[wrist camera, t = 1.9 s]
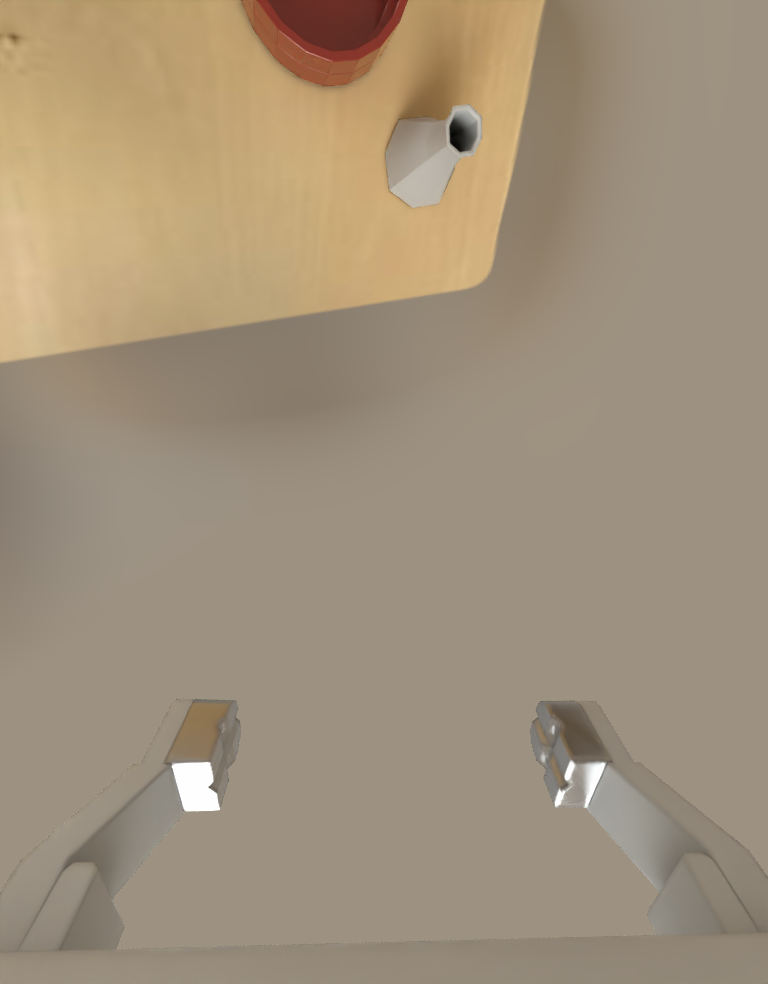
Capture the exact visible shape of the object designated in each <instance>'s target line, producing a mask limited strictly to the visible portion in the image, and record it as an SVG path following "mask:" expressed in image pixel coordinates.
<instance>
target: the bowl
mask: <svg viewBox="0 0 768 984" xmlns="http://www.w3.org/2000/svg"><path fill="white" fill-rule="evenodd" d="M407 1H408V0H241V2H242V4H243V7H244V9H245V11H246V13H247V16H248V18H249V20H250V22H251V24H252V27H253V29H254V30H255V32H256V33H257V35H258V36H259V37H260V39H261V40H262V41H263V43H264V44H265V45H266V47H267V48H268V49H269V51H270V52H271V54H272V55H273V56H274V58H276V60H278V61H279V62H280V63H281V64H283V65H284V66H285V67H286V68H288V69H289V70H290V71H292V72H293V73H294V74H295V75H297V76H298V77H300V78H302V79H305V80H308V81H311V82H314V83H316V84H319V85H322V86H332V85H343V84H348V83H350V82H352V81H353V80H355V79H357V78H358V77H360V76H362V75H363V74H365V73H367V72H368V71H369V70H370V68H371V67H372V66H373V65H374V63H375V62H376V61H377V59H378V58H379V57H380V55H381V54H382V53H383V51H384V50H385V48H386V46H387V44H388V42H389V41H390V39H391V37H392V35H393V33H394V31H395V30H396V28H397V26H398V24H399V22H400V20H401V17H402V15H403V12H404V9H405V7H406V4H407Z"/></svg>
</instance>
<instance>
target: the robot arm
mask: <svg viewBox="0 0 768 984" xmlns="http://www.w3.org/2000/svg"><path fill="white" fill-rule="evenodd" d="M237 711H238V707H237V701H235V700H202V699H176V700H175V701H174V702H173V703H172V705H171V706H170V708H169V710H168V712H167V713H166V715H165V717H164V719H163V721H162V723H161V725H160V727H159V729H158V731H157V733H156V735H155V737H154V739H153V741H152V742H151V744H150V747H149V748H148V751H147V752H146V754H145V756H144V758H143V760H142V762H141V764H134V765H132V766H131V767H130V768H129V769H128V770H127V771H125V772H124V773H123V774H122V775H121V776H120V777H119V778H117V779H116V780H115V781H114V782H113V783H111V784H110V785H109V786H108V787H107V788H105V789H104V790H103V791H102V792H101V793H99V794H98V795H97V796H96V797H95V798H94V799H92V800H91V801H90V802H89V803H88V804H87V805H85V806H84V807H83V808H82V809H81V810H80V811H78V812H77V813H76V814H75V815H73V816H72V817H71V818H70V819H69V820H68V821H66V822H65V823H64V824H63V825H62V826H61V827H59V828H58V829H57V830H56V831H55V832H53V833H52V834H51V835H50V836H49V837H48V838H46V839H45V840H44V841H43V842H42V843H41V844H39V845H38V846H37V847H36V848H35V849H33V850H32V851H31V852H30V853H29V854H27V855H26V856H25V857H24V858H23V859H22V860H20V862H19V864H18V865H17V867H16V868H15V870H14V871H13V873H12V874H11V876H10V877H9V879H8V880H7V882H6V883H5V885H4V887H3V888H2V890H1V891H0V984H768V877H767V875H766V874H765V872H764V871H763V869H762V868H761V867H760V865H759V864H758V862H757V861H756V860H755V858H754V857H753V855H752V854H751V853H750V851H749V850H748V849H747V848H745V847H744V846H743V845H741V844H740V843H739V842H738V841H737V840H735V839H734V838H733V837H732V836H730V835H729V834H728V833H727V832H725V831H724V830H723V829H722V828H720V827H719V826H718V825H717V824H715V823H714V822H713V821H712V820H710V819H709V818H708V817H707V816H705V815H704V814H703V813H702V812H701V811H699V810H698V809H697V808H696V807H694V806H693V805H692V804H691V803H689V802H688V801H687V800H686V799H685V798H683V797H682V796H681V795H680V794H678V793H677V792H676V791H675V790H673V789H672V788H671V787H670V786H668V785H667V784H666V783H665V782H663V781H662V780H661V779H660V778H658V777H657V776H656V775H655V774H653V773H652V772H651V771H650V770H649V769H647V768H646V767H645V766H644V765H642V764H641V763H639V762H638V763H637V762H634V761H633V760H632V758H631V756H630V755H629V753H628V751H627V750H626V748H625V746H624V745H623V743H622V741H621V740H620V738H619V736H618V735H617V733H616V731H615V730H614V728H613V726H612V725H611V723H610V721H609V720H608V718H607V717H606V715H605V713H604V712H603V710H602V708H601V706H600V705H599V704H598V703H597V702H594V701H541V702H539V703H538V705H537V708H536V712H537V714H538V717H537V718H536V719H535V720H534V721H533V722H532V725H531V730H530V734H531V744H532V748H533V752H534V754H535V757H536V760H537V761H538V762H539V763H540V764H541V765H542V766H543V767H544V768H545V769H546V771H545V775H544V781H545V784H546V786H547V789H548V791H549V794H550V797H551V799H552V802H553V804H554V807H574V808H576V807H577V808H588V809H587V810H588V811H589V812H590V813H591V815H593V817H594V818H595V819H596V820H597V821H598V823H599V824H600V825H601V826H602V827H603V828H604V829H605V830H606V832H607V833H608V834H609V835H610V836H611V837H612V838H613V839H614V841H615V842H616V843H617V844H618V845H619V846H620V848H621V849H622V850H623V851H624V852H625V853H626V854H627V855H628V857H629V858H630V859H631V860H632V861H633V862H634V863H635V865H636V866H637V867H638V868H639V869H640V870H641V871H642V873H643V874H644V875H645V876H646V877H647V878H648V879H649V880H650V882H651V883H652V884H653V885H654V886H655V887H656V888H657V890H658V891H659V894H658V895H657V897H656V898H655V900H654V901H653V903H652V904H651V906H650V908H649V911H648V914H647V915H648V917H649V920H650V922H651V924H652V926H653V928H654V930H655V933H656V935H642V936H603V937H564V938H527V939H486V940H449V941H448V940H447V941H408V942H370V943H332V944H331V943H330V944H295V945H294V944H292V945H256V946H255V945H254V946H217V947H178V948H142V949H116V947H117V945H118V942H119V940H120V937H121V935H122V932H123V930H124V924H123V921H122V918H121V916H120V914H119V912H118V910H117V908H116V906H115V903H114V902H113V898H114V896H115V895H116V894H117V893H118V892H119V890H120V889H121V888H122V887H123V886H124V884H125V883H126V882H127V881H128V880H129V879H130V877H131V876H132V875H133V874H134V873H135V871H136V870H137V869H138V868H139V867H140V865H141V864H142V863H143V862H144V861H145V859H146V858H147V857H148V856H149V855H150V853H151V852H152V851H153V850H154V849H155V848H156V846H157V845H158V844H159V843H160V842H161V840H162V839H163V838H164V837H165V836H166V834H167V833H168V832H169V831H170V830H171V828H172V827H173V826H174V825H175V824H176V822H177V821H178V820H179V819H180V818H181V816H182V815H183V812H184V811H207V810H220V807H221V804H222V801H223V798H224V794H225V791H226V788H227V785H228V782H229V778H228V772H227V768H228V767H229V766H231V765H232V764H233V762H234V761H235V758H236V755H237V752H238V747H239V741H240V733H241V726H240V721H239V720H238V719H237V718H236V714H237Z"/></svg>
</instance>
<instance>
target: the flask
mask: <svg viewBox="0 0 768 984" xmlns="http://www.w3.org/2000/svg"><path fill="white" fill-rule="evenodd" d="M481 139H482V116H481V115H480V114H479V113H478V112H477V111H476V110H475V109H474V108H473V107H472V106H471V105H470V104H468V105H458V106H453V108H452V110H451V112H450V114H449V117H448V118H447V119H445V120H443V121H442V120H438V119H435V118H432V117H428V116H427V117H417V118H408V119H399V120H398V123H397V125H396V128H395V130H394V132H393V135H392V137H391V140H390V142H389V145H388V147H387V150H386V152H385V157H386V166H387V175H388V183H389V190H390V191H391V192H392V193H394V194H395V195H396V196H398V197H399V198H400V199H402V200H403V201H404V202H406V203H407V204H408V205H410V206H411V207H412V208H415V207H422V206H429V205H435V204H439V202H440V200H441V198H442V195H443V193H444V191H445V189H446V187H447V185H448V182H449V180H450V178H451V176H452V174H453V171H454V168H455V165H456V164H457V162H458V161H459V160H460V159H461V158H462V157H469V156H473V155H474V154H475V152H476V149H477V147H478V145H479V143H480V141H481Z"/></svg>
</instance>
